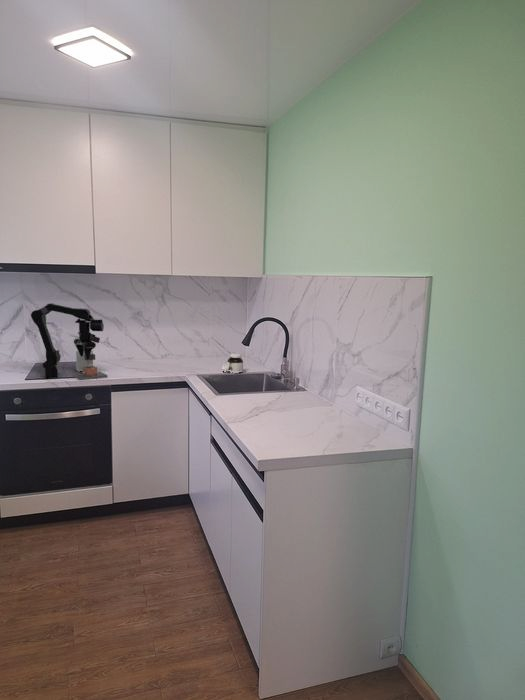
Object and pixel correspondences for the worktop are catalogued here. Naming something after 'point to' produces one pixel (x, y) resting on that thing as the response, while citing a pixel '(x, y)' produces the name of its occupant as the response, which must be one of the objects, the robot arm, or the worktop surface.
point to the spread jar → (233, 363)
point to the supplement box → (81, 361)
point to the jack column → (90, 360)
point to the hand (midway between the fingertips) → (84, 357)
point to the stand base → (89, 374)
